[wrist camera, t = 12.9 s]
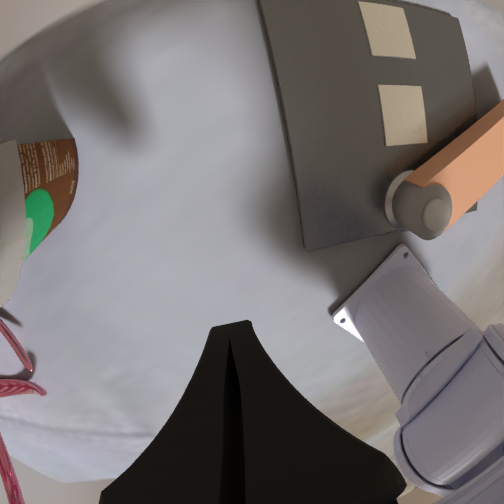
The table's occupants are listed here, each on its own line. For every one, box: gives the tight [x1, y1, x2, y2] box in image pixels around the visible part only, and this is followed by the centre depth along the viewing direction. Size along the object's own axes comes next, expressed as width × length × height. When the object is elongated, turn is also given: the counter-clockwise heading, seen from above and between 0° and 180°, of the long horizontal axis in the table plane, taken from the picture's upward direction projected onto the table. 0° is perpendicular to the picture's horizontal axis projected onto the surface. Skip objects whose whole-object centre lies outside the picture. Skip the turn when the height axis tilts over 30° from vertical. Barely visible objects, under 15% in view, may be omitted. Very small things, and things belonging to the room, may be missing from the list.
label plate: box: [258, 0, 477, 251], centre depth 16 cm, size 16×17×1 cm
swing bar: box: [392, 99, 504, 240], centre depth 15 cm, size 17×4×3 cm, turn 126°
